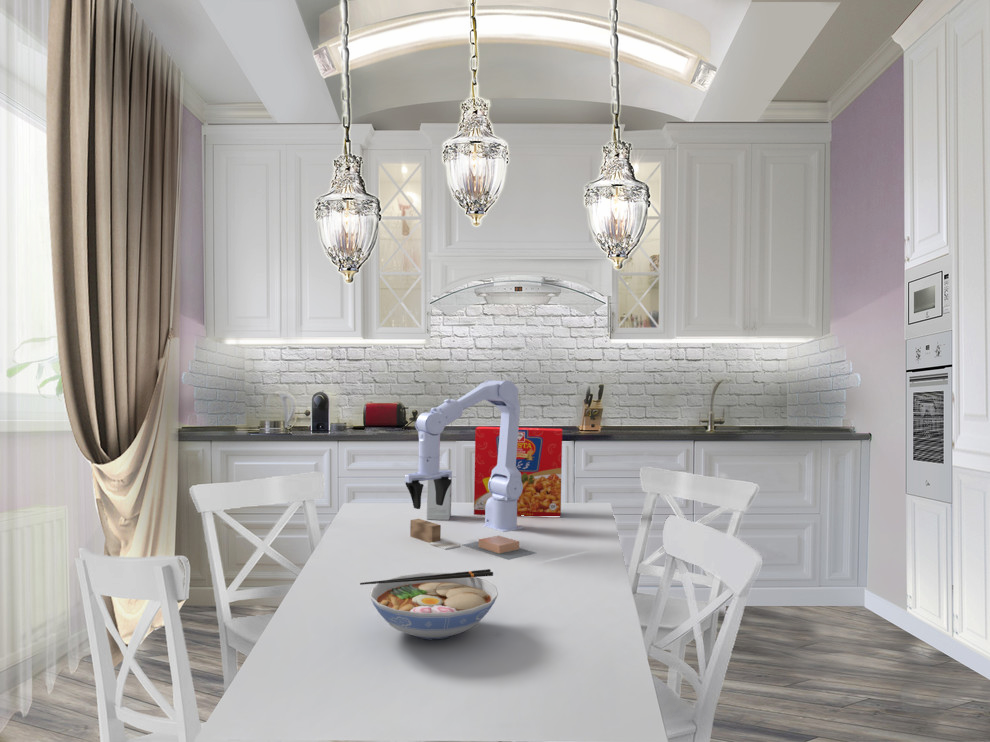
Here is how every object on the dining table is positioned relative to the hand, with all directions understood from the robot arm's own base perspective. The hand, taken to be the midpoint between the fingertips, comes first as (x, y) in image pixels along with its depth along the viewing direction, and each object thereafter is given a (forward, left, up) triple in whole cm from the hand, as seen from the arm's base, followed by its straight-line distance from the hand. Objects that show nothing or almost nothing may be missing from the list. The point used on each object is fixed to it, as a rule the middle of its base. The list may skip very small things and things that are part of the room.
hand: (428, 506), depth 187 cm
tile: (+15, +9, -8) cm, 19 cm away
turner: (+2, 0, -9) cm, 10 cm away
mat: (+19, +9, -9) cm, 23 cm away
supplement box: (-22, +21, -10) cm, 32 cm away
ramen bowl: (+53, -38, -10) cm, 66 cm away
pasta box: (-11, +45, -10) cm, 47 cm away
